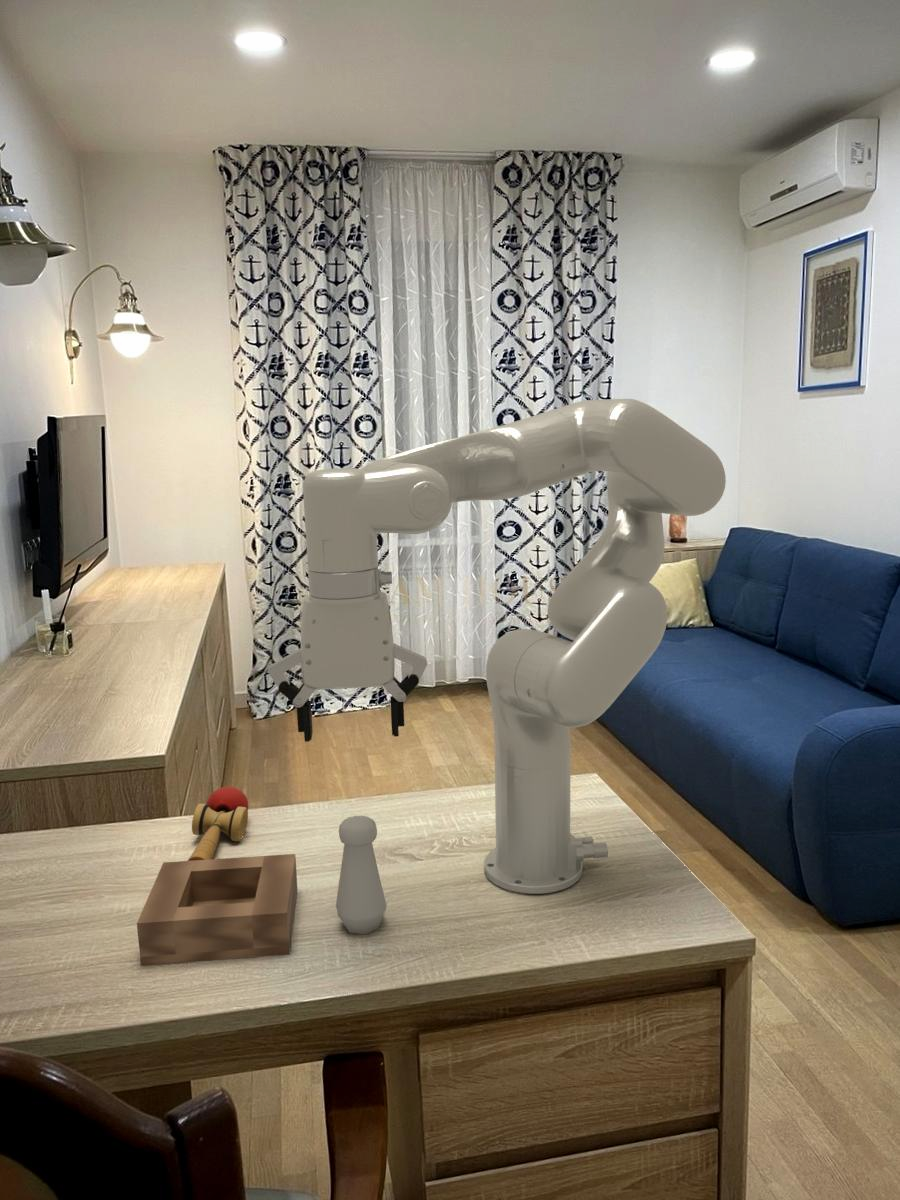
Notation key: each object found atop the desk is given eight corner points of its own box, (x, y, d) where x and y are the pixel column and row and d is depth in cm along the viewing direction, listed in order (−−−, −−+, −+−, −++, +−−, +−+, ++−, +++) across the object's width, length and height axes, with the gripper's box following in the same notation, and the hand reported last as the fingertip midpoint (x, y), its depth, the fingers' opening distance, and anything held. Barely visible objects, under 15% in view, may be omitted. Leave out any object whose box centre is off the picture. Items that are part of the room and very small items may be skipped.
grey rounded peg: (378, 940, 105) (374, 833, 103) (330, 936, 106) (324, 830, 104) (392, 913, 111) (388, 811, 108) (346, 909, 112) (341, 808, 110)
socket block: (297, 890, 117) (295, 853, 116) (289, 954, 103) (286, 912, 102) (166, 899, 115) (163, 862, 114) (140, 965, 102) (136, 923, 101)
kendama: (235, 884, 122) (263, 809, 139) (221, 843, 120) (252, 772, 137) (178, 893, 123) (213, 818, 140) (163, 853, 120) (201, 781, 138)
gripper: (422, 574, 105) (427, 719, 109) (266, 581, 104) (276, 728, 107) (426, 587, 98) (431, 742, 101) (259, 594, 96) (270, 751, 100)
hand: (352, 735), depth 104 cm, fingers open, 9 cm apart
